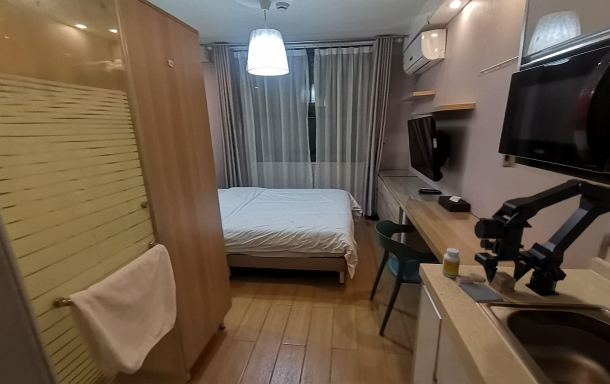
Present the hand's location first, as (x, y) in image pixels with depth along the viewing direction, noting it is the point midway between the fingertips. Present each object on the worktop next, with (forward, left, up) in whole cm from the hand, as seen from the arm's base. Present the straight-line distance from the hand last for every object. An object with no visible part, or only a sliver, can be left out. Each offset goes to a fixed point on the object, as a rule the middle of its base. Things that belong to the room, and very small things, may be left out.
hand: (502, 282), depth 93 cm
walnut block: (0, 0, -2) cm, 3 cm away
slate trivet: (+9, +2, -2) cm, 10 cm away
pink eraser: (+10, -5, -3) cm, 11 cm away
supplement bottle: (+12, -10, -3) cm, 16 cm away
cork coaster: (+4, -7, -3) cm, 9 cm away
